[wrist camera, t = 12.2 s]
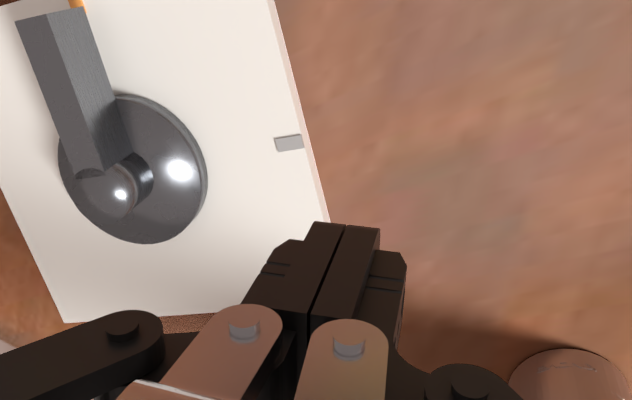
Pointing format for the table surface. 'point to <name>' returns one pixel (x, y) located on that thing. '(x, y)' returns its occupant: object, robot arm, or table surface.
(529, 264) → the table surface
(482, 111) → the table surface
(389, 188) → the table surface
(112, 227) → the dial
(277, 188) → the dial plate
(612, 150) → the table surface
